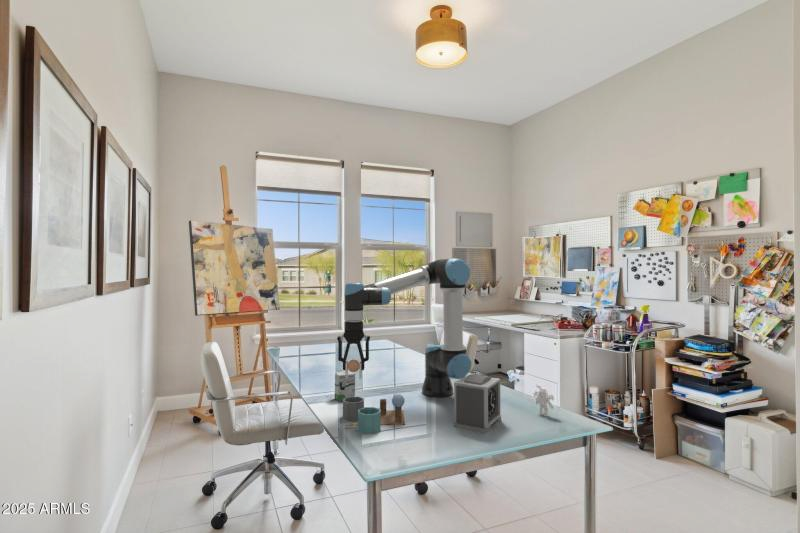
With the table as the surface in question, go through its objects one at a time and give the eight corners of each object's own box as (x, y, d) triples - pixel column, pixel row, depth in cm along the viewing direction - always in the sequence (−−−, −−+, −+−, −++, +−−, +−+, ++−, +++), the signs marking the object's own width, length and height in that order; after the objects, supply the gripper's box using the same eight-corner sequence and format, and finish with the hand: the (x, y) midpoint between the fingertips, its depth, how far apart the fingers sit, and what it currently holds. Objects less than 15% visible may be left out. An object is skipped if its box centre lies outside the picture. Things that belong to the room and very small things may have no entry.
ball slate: (404, 405, 170) (404, 392, 170) (404, 409, 165) (404, 396, 165) (391, 405, 170) (391, 392, 170) (391, 409, 165) (391, 396, 165)
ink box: (337, 401, 193) (337, 375, 194) (334, 398, 198) (334, 372, 198) (355, 398, 197) (355, 373, 198) (351, 395, 202) (351, 370, 202)
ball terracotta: (360, 370, 175) (360, 358, 176) (359, 373, 170) (359, 360, 171) (348, 370, 175) (348, 358, 175) (346, 373, 170) (346, 361, 170)
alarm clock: (485, 434, 155) (485, 383, 155) (452, 427, 162) (452, 378, 162) (501, 419, 170) (501, 373, 171) (471, 413, 177) (471, 369, 178)
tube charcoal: (364, 413, 177) (364, 396, 177) (363, 420, 169) (363, 402, 169) (344, 413, 177) (344, 396, 177) (342, 420, 168) (342, 402, 169)
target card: (363, 423, 165) (363, 421, 165) (362, 428, 160) (362, 426, 160) (345, 423, 165) (345, 422, 165) (344, 428, 160) (344, 426, 160)
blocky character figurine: (531, 413, 177) (531, 384, 177) (537, 411, 180) (537, 382, 180) (550, 419, 170) (550, 389, 170) (556, 417, 172) (556, 387, 173)
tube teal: (380, 425, 163) (380, 407, 163) (380, 433, 155) (380, 414, 155) (358, 425, 163) (358, 407, 163) (357, 434, 155) (357, 414, 155)
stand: (403, 411, 180) (403, 397, 180) (404, 424, 164) (404, 409, 164) (377, 411, 180) (377, 397, 180) (376, 425, 164) (376, 410, 164)
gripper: (376, 319, 177) (376, 375, 177) (332, 319, 177) (332, 375, 176) (375, 321, 170) (375, 380, 169) (330, 321, 169) (330, 380, 169)
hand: (353, 378), depth 173 cm, fingers closed on ball terracotta, 5 cm apart
